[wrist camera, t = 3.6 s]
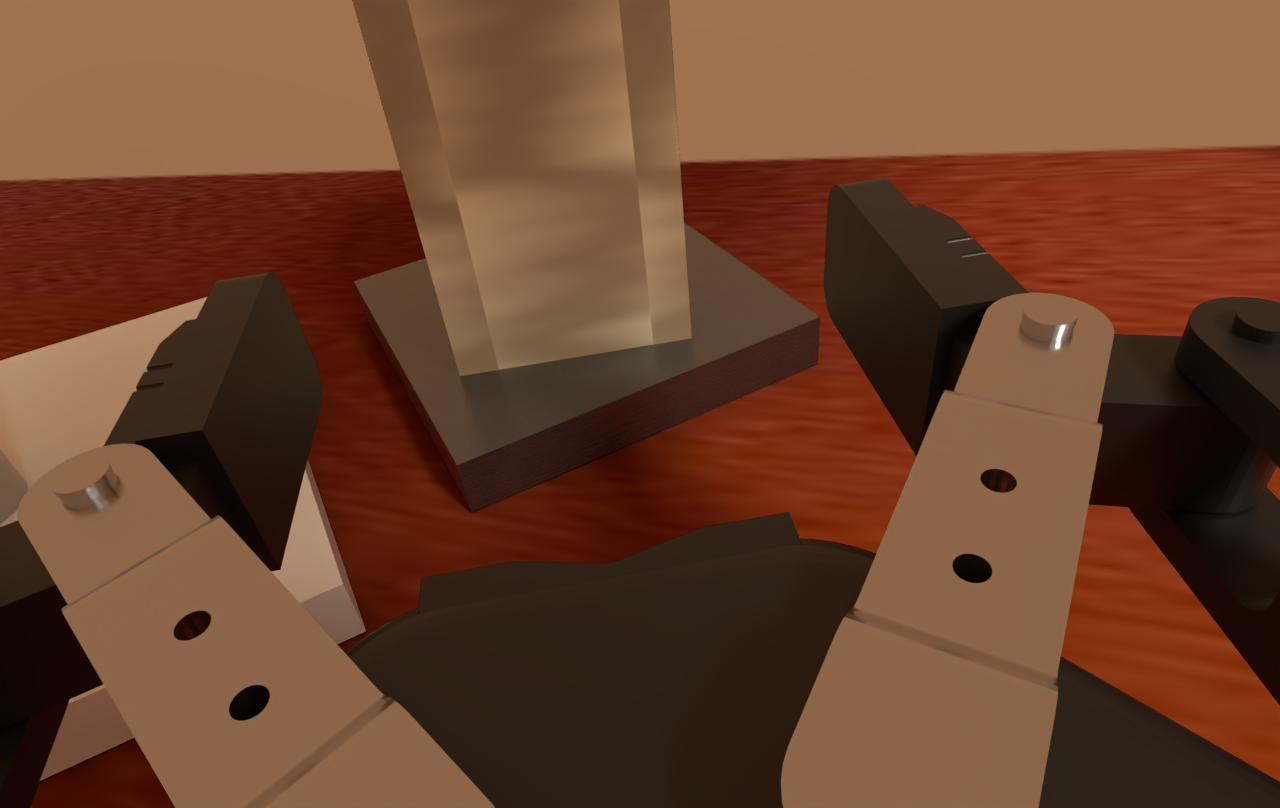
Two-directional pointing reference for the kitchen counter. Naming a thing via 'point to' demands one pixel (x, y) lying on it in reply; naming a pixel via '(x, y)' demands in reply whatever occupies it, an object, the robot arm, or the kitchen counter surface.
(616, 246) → the sleeve
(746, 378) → the stand
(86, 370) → the board
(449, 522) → the kitchen counter surface
